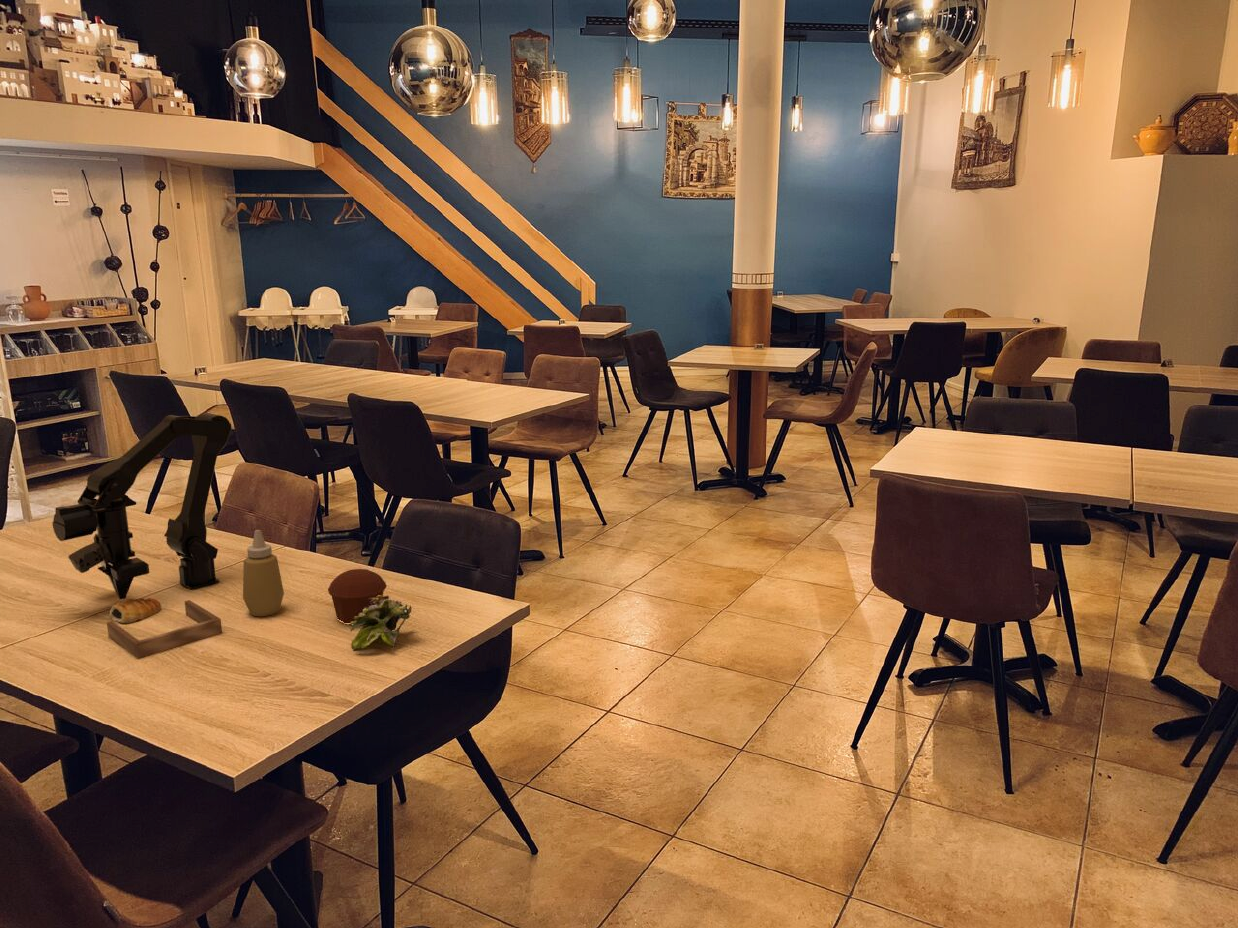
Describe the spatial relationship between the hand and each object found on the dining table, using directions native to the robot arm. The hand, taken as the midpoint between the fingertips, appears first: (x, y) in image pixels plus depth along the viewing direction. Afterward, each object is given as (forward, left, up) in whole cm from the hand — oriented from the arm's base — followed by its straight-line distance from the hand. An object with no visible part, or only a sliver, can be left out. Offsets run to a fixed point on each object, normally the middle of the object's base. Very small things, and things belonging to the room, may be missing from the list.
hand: (122, 598), depth 193 cm
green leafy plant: (-27, +58, -2) cm, 64 cm away
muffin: (-31, +43, -2) cm, 53 cm away
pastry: (+1, +8, -2) cm, 8 cm away
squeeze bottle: (-19, +26, -2) cm, 32 cm away
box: (0, +22, -2) cm, 22 cm away
